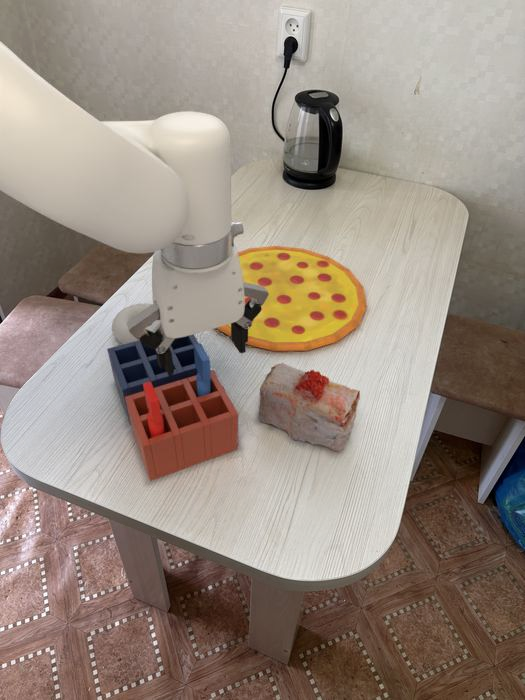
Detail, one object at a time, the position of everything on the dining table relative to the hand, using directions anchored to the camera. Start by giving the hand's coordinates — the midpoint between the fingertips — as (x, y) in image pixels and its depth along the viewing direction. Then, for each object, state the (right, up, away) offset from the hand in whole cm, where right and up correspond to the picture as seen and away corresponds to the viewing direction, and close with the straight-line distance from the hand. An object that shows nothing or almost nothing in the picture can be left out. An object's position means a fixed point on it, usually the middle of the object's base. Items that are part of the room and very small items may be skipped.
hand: (203, 356), depth 65 cm
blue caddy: (-8, -6, +13) cm, 16 cm away
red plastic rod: (-6, -14, +3) cm, 15 cm away
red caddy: (-3, -12, +7) cm, 14 cm away
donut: (-13, +4, +23) cm, 26 cm away
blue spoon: (-1, -9, +9) cm, 13 cm away
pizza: (+11, +11, +32) cm, 35 cm away
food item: (+14, -10, +10) cm, 20 cm away
